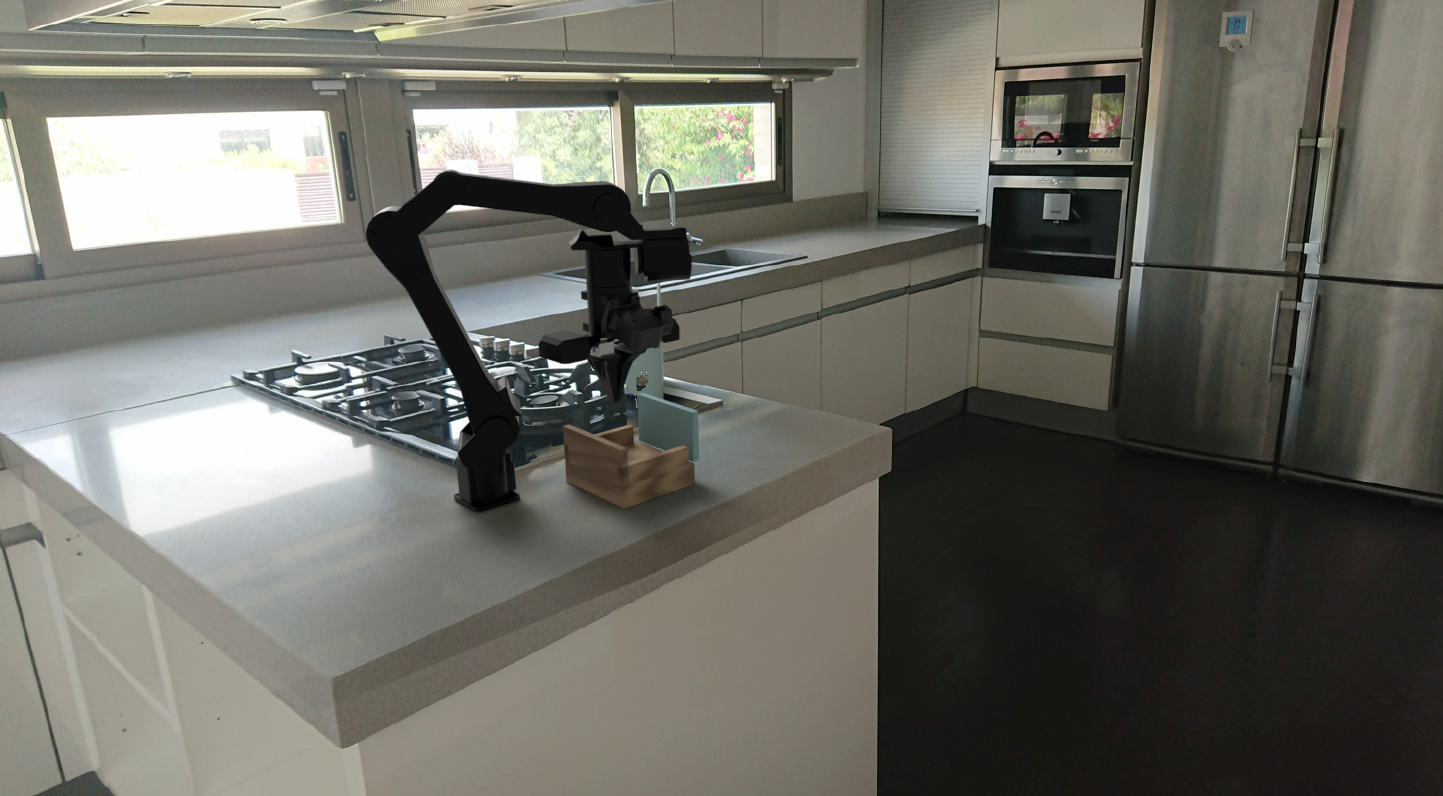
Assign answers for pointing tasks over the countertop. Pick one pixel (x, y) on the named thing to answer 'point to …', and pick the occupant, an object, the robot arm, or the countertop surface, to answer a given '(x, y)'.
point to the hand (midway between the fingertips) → (614, 401)
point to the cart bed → (623, 466)
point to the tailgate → (668, 425)
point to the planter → (648, 368)
